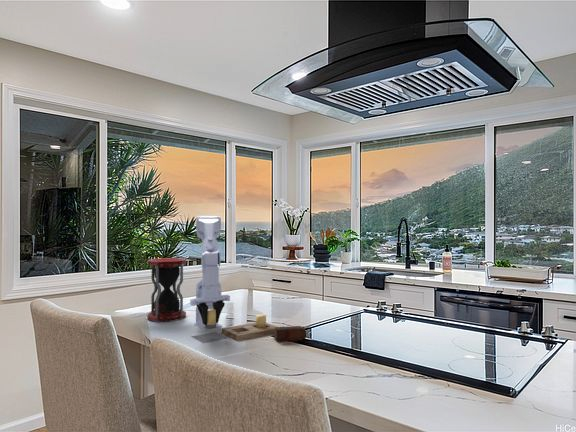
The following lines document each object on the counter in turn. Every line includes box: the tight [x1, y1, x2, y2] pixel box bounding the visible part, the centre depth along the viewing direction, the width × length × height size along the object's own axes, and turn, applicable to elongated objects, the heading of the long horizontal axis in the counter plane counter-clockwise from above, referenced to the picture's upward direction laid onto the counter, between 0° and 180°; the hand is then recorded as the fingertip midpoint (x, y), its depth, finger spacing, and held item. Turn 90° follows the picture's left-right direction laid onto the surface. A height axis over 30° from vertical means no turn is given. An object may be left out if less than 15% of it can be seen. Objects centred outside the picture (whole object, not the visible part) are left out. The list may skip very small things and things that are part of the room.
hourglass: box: [146, 257, 187, 323], centre depth 179 cm, size 16×16×25 cm
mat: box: [190, 331, 229, 344], centre depth 148 cm, size 10×10×1 cm
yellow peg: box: [205, 309, 217, 330], centre depth 148 cm, size 4×4×6 cm
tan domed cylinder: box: [255, 314, 267, 329], centre depth 157 cm, size 4×4×6 cm
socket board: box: [221, 321, 278, 342], centre depth 154 cm, size 12×18×2 cm, turn 127°
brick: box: [273, 325, 307, 343], centre depth 146 cm, size 11×4×5 cm, turn 106°
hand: (210, 323), depth 148 cm, fingers closed on yellow peg, 4 cm apart
